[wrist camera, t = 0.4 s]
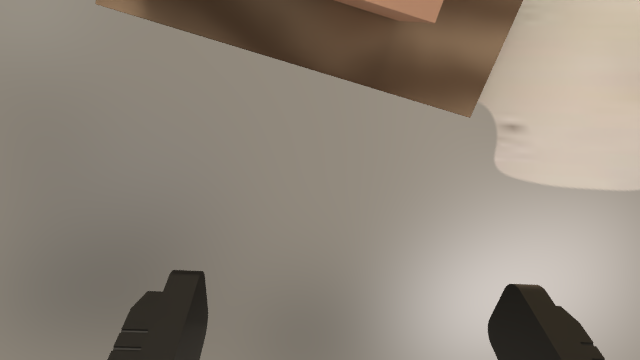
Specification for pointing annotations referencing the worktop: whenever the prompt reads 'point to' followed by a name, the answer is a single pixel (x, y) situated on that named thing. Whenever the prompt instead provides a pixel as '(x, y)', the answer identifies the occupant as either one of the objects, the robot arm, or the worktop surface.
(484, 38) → the walnut board
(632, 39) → the worktop surface
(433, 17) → the terracotta stub
